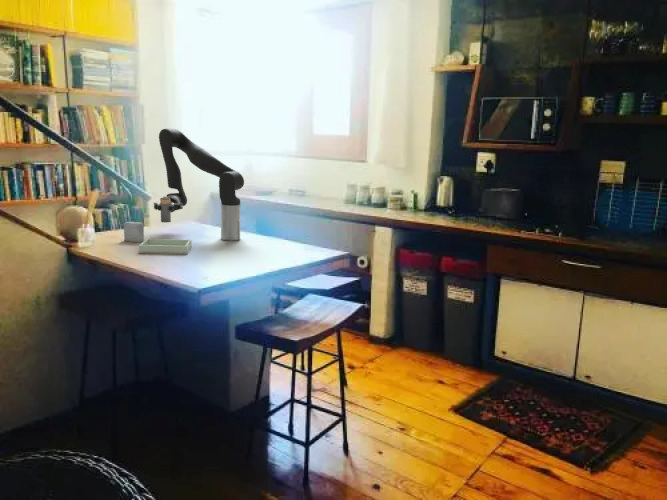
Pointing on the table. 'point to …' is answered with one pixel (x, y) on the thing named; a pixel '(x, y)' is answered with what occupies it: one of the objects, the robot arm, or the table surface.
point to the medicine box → (134, 231)
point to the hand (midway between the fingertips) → (164, 208)
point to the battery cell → (165, 209)
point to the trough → (165, 246)
